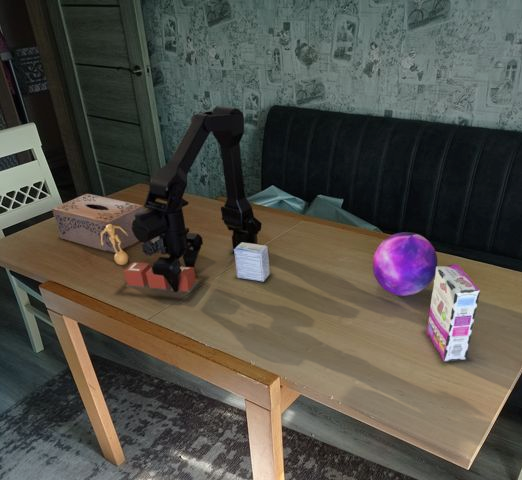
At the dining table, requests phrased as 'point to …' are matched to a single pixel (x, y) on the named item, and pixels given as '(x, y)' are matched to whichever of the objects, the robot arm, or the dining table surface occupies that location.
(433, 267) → the decorative orb
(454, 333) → the candy bar box
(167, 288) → the word mat
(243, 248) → the medicine box
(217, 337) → the dining table surface
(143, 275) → the letter L
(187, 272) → the letter T
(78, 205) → the tissue box cover
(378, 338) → the dining table surface
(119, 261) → the figurine
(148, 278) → the red box-shaped block
